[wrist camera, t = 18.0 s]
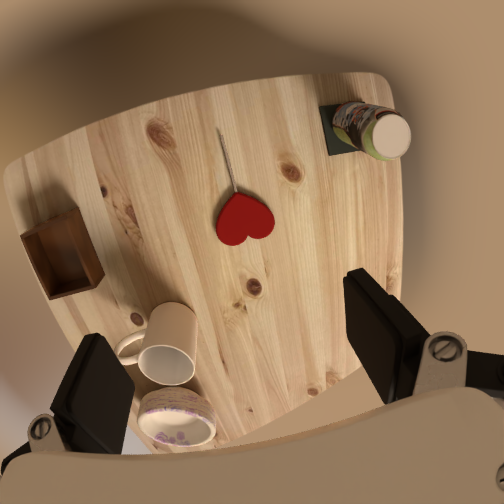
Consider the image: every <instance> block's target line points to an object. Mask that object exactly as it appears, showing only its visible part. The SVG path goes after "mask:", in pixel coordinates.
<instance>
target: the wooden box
mask: <svg viewBox="0 0 504 504" xmlns="http://www.w3.org/2000/svg"><path fill="white" fill-rule="evenodd" d="M20 237H21V240H22V242H23V245H24V247H25V250H26V252H27V254H28V257H29V259H30V261H31V263H32V266H33V268H34V270H35V272H36V274H37V276H38V279H39V281H40V283H41V285H42V287H43V289H44V291H45V293H46V295H47V296H48V298H49V300H53V299H57V298H61V297H64V296H68V295H72V294H75V293H79V292H83V291H87V290H90V289H94V288H96V287H97V286H98V284H99V283H100V282H101V280H102V279H103V277H104V276H105V272H104V270H103V268H102V266H101V263H100V261H99V259H98V256H97V254H96V252H95V249H94V247H93V244H92V242H91V239H90V237H89V234H88V231H87V229H86V226H85V224H84V221H83V218H82V215H81V213H80V210H79V207H77V208H75V209H72V210H70V211H68V212H65V213H63V214H60V215H58V216H56V217H54V218H51V219H49V220H47V221H45V222H42V223H40V224H38V225H36V226H34V227H32V228H31V229H29V230H28V231H26V232H24V233H23V234H21V235H20Z"/></svg>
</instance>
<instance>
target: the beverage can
mask: <svg viewBox="0 0 504 504" xmlns="http://www.w3.org/2000/svg"><path fill="white" fill-rule="evenodd" d="M332 126H333V130H334V132H335V134H336V135H337V137H338V138H339V139H341V140H342V141H344V142H346V143H348V144H350V145H352V146H353V147H355V148H357V149H359V150H361V151H363V152H365V153H367V154H368V155H370V156H372V157H374V158H376V159H378V160H383V161H388V160H392V159H396V158H399V157H401V156H402V155H403V154H404V153H405V152H406V151H407V149H408V147H409V145H410V141H411V132H410V128H409V126H408V124H407V122H406V121H405V120H404V118H403V117H402V116H401V115H400V114H399V113H398V112H397V111H395V110H393V109H391V108H386V107H382V106H376V105H371V104H366V103H360V102H354V101H349V102H345V103H343V104H341V105H340V106H338V107H337V109H336V110H335V112H334V114H333V117H332Z"/></svg>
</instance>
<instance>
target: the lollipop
mask: <svg viewBox="0 0 504 504" xmlns="http://www.w3.org/2000/svg"><path fill="white" fill-rule="evenodd" d="M220 139H221V142H222V146H223V150H224V153H225V157H226V161H227V165H228V168H229V172H230V176H231V179H232V183H233V187H234V190H235V193H234V194H233V195H232V196H231V197H230V199H229V200H228V201H227V202H226V204H225V205H224V207H223V208H222V210H221V212H220V214H219V216H218V219H217V223H216V234H217V236H218V238H219V240H220V241H221V242H223V243H224V244H226V245H230V246H235V245H239V244H241V243H242V242H244V241H245V240H246V238H247V236H250V237H251V238H254V239H261V238H264V237H266V236H268V235H269V234H270V233H271V232H272V230H273V228H274V225H275V220H274V216H273V214H272V212H271V211H270V210H269V208H268V207H267V206H266V205H265V204H263V203H262V202H260V201H259V200H257V199H255V198H253V197H251V196H248V195H246V194H243V193H240V192H238V191H237V187H236V184H235V180H234V176H233V172H232V169H231V165H230V161H229V158H228V154H227V150H226V146H225V143H224V139H223V135H220Z"/></svg>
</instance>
